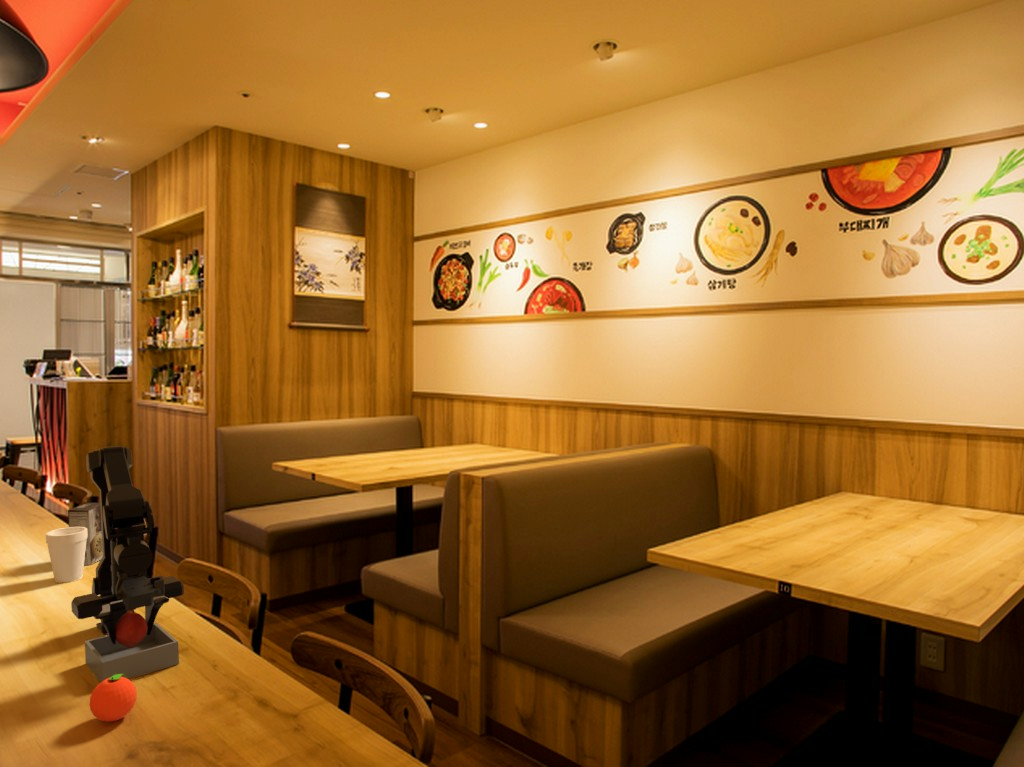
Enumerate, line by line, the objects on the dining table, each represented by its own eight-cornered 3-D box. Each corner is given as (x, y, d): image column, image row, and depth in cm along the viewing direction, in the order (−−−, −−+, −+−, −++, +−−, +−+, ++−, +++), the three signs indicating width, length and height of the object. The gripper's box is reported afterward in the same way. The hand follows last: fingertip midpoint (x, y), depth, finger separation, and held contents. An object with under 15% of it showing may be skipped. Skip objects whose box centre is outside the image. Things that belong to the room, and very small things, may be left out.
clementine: (106, 706, 124) (104, 666, 124) (147, 704, 124) (145, 664, 124) (81, 731, 116) (79, 688, 116) (125, 729, 116) (124, 686, 116)
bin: (85, 663, 140) (84, 641, 140) (157, 643, 150) (156, 622, 149) (103, 686, 131) (102, 662, 131) (179, 664, 140) (178, 641, 140)
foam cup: (74, 584, 187) (72, 536, 186) (39, 584, 187) (37, 536, 186) (96, 573, 196) (94, 526, 196) (63, 573, 197) (61, 526, 196)
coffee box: (89, 555, 213) (87, 502, 212) (110, 555, 212) (108, 502, 211) (69, 565, 204) (66, 509, 203) (91, 565, 203) (88, 509, 202)
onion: (110, 656, 137) (109, 615, 136) (118, 643, 142) (117, 604, 142) (144, 652, 138) (143, 612, 138) (150, 640, 144) (149, 601, 143)
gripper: (83, 582, 127) (87, 667, 128) (192, 559, 140) (195, 637, 141) (69, 568, 135) (72, 648, 136) (173, 547, 148) (175, 621, 149)
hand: (131, 639), depth 140 cm, fingers closed on onion, 6 cm apart
